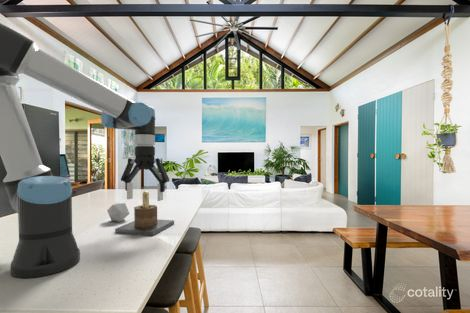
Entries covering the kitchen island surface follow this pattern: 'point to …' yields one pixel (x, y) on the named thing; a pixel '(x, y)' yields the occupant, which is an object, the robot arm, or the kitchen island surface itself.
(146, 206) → the stand
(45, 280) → the kitchen island surface
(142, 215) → the bead
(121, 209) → the die
